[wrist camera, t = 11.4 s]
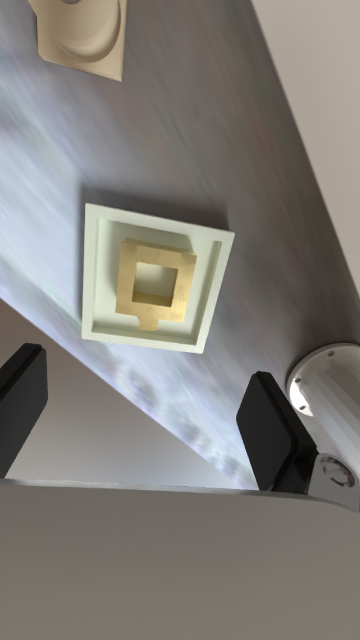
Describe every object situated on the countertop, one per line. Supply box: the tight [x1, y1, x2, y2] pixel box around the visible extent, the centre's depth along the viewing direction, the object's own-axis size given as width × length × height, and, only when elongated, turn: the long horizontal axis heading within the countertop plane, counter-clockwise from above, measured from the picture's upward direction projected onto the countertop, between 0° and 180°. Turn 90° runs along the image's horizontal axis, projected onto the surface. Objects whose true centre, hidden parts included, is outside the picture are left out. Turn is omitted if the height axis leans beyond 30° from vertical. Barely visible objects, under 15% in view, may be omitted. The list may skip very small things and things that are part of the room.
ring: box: [115, 238, 197, 331], centre depth 26 cm, size 7×9×3 cm
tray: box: [82, 203, 235, 354], centre depth 27 cm, size 14×14×2 cm
